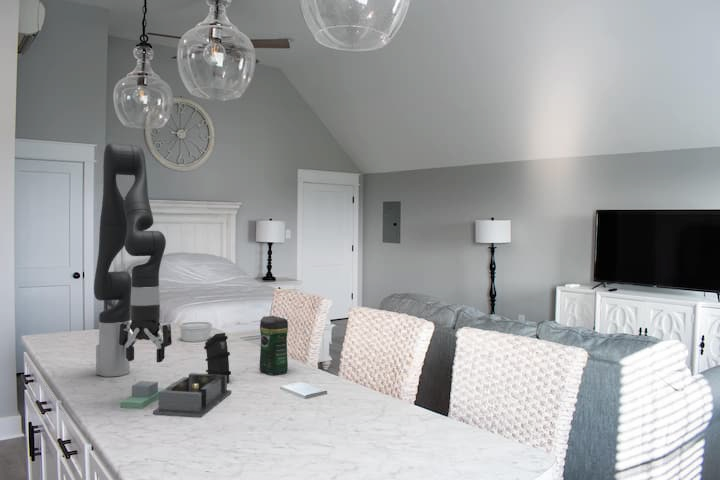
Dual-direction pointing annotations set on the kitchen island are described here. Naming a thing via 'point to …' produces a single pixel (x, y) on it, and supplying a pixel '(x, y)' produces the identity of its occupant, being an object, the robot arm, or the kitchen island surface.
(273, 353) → the coffee jar
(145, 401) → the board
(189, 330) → the ramekin
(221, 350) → the magazine
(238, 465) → the kitchen island surface
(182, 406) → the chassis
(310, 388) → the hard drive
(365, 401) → the kitchen island surface
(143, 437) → the kitchen island surface
